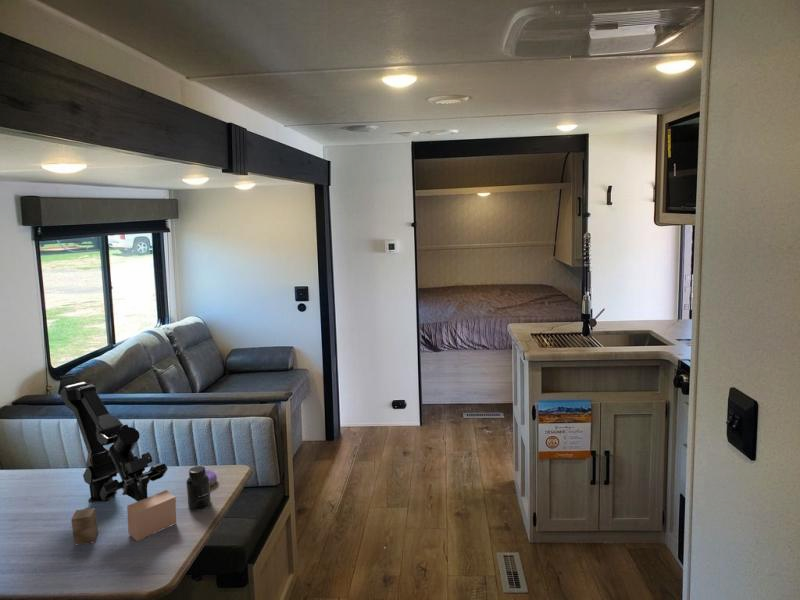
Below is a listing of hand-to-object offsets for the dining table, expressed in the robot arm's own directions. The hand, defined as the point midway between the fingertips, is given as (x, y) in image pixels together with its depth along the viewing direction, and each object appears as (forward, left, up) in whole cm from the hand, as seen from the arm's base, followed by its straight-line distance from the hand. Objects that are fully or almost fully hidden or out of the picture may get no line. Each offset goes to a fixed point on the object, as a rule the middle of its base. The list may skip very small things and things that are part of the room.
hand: (146, 505), depth 181 cm
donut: (+7, +27, -7) cm, 29 cm away
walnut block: (-15, -6, -7) cm, 18 cm away
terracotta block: (+2, -1, -7) cm, 7 cm away
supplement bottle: (+11, +13, -7) cm, 18 cm away
